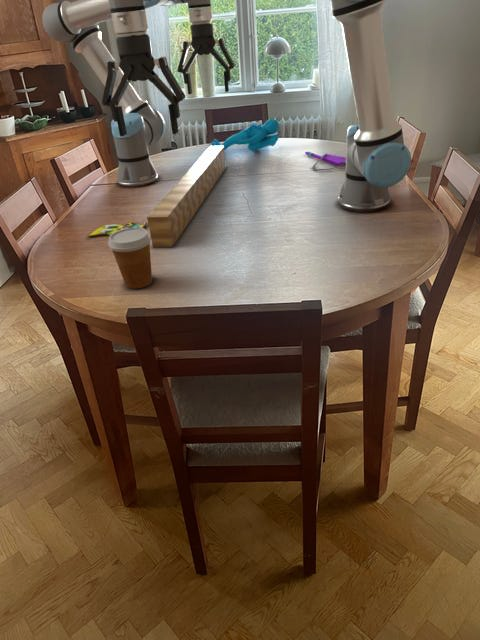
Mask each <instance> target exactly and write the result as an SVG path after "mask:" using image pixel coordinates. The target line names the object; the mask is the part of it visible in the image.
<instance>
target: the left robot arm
mask: <svg viewBox="0 0 480 640" xmlns="http://www.w3.org/2000/svg"><path fill="white" fill-rule="evenodd" d="M211 3H212V2H211V0H179V1H171V0H151V1H144V6H145V10H146V9H149V8H153V7H156V6H158V7H159V6H161V7H167V6H171V5H181V4H187V8H188V17H189V23H191V24H190V26H189V27H190V34H191V35H190V36H191V41H188V40H184V41H183V42H182V46H183V47H182V52H181V55H180V59H179V62H178V66H177V73H181V74H182V75H183V76H182V77H183V83H184V84H185V85H186V87H187V94H188V95H192V94H193V88H192V79H191V73H190V72H189V71H190V69H191V67H192V65H193V63H194V62H195V60H196V58H197V56H198V55H199V56H204V55H205V56H207V55H211V56H213V57H214V59H215V60H216V61H217V62H218V63H219V64H220V66H221V67H222V68H223V69H224V71H223V81H224V82H223V83H224V93H229V91H230V88H229V87H230V86H229V82H230V81H231V79H232V78H231V70H233V69H235V68H236V65H235V62H234V61H233V59H232V56H231V55H230V53H229V51H228V49H227V47H226V45H225V39H224V38H223V37H221V38H218V39H215V34H214V33H215V32H214V24H213V23H212V21H213V13H212V4H211ZM129 12H130V11H129ZM117 13H119V12H117ZM110 20H112V16H111V9H110V5H109V0H75V1H69V0H64V1H63V0H62V1H60V2H54V3H51V4H48V5H47V6H46V7H45V8H44V10H43V12H42V16H41V21H42V26H43V29H44V31H45V32H46V34H47V35H48V36H49V37H50V38H51V39H52V40H54V41H55V42H59V43H69V44H70V45H71V47H72V48H73V50H74V52H75V53H79V54H82V55H83V57H84V58H85V60H86V61H87V63H88V64H89V66H90V67H91V69H92V70H93V72H94V73H95V74H96V76H97V77H98V79H99V80H100V82H101V83H102V85H103V86H104V87H105V85H106V80H107V75H108V67H107V63H108V62H109V61H113V60H114V61H115V62H116V60H115V58H114V57H113V55H112V54H111V52H110V51H109V49H108V48H107V46H106V44H104V42H103V40H102V31H101V30H100V26H99V24H102V23H104V22H108V21H110ZM216 45H217V47H219V48H220V51H221V53H222V54H223V55H224V58H225V60H226V61H225V60H224V59H223V57H222V56H221V55H220V54H219V53H218V52H217V50H216V49H215V46H216ZM191 47H192V48H193V52H192V54H191V56H190V57H189V59H188V61H187V62H186V60H187V56H188V53H189V49H190V48H191ZM185 63H186V64H185ZM123 75H124V72H123V71H122V70H121V69H120V67H119V70H118V71H117V74H116V79H115V84H114V89H113V93H112V98H113V96H114V94H115V92H116V90H117V88H118V86H119V84H120V82H121V79H122V77H123ZM112 98H111V99H112ZM118 106H122V111H123V116H124V121H125V126H126V131H127V134H126V135H124V136H120V133H119V128H118V123H117V122H114V120H113V119H112V120H111V122H110V127H111V134H112V138H113V142H114V146H115V151H116V156H117V160H118V167H117V168H118V170H117V183H118V186H120V187H123V188H124V187H125V188H136V187H137V188H138V187H145V186H147V185H148V186H149V185H151V184H154V183H156V182H157V181H158V180H159V176H158V172H157V169H156V168H155V166H154V163H153V161H152V159H151V156H150V151H149V146H151V145H153V144H156V143H157V142H158V141H160V140H161V139H162V138H163V136H164V135H165V133H166V121H165V118H164V116H163V115H162V113H160V111H158V110H157V109H154V108H152V107H151V105H150V104H149V103H148V101H147V100H143V99H142V98H140V96H139V94H138V93H137V92H136V90H135V88H134V87H133V85H132V84H131V82H130V83H129V84H128V86H127V88H126V90H125V92H124V94H123V96H122V98H121V100H120V102H119V105H118Z"/></svg>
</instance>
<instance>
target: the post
mask: <svg viewBox="0 0 480 640" xmlns="http://www.w3.org/2000/svg"><path fill="white" fill-rule="evenodd" d="M226 169H227V165H226V152H225V150H224V146H212V145H210V146H209V147H208V148H207V149H206V150H205V151H204V152H203V153H202V154H201V156H200V157H198V159H197V160H196V161H195V162H194V164H193V165H192V166H191V167H190V168H189V169H188V170H187V172H186V173H185V174H184V175H183V176H182V177H181V178H180V180H179V181H178V182H177V183H176V184H175V185H174V186H173V187H172V188H171V190H170V191H169V192H168V193H167V194H166V195H165V197H163V199H161V201H160V202H159V203H158V204H157V206H156V207H154V209H153V210H152V211H151V212H150V213H149V214H148V216H147V217H146V218H147V225H148V230H149V235H150V236H151V239H150V241H151V245H152V248H172V247H174V245H175V244H176V242H177V241H178V239H179V238H180V236H181V235H182V234H183V232H184V230H185V229H186V227H187V226H188V225H189V223H190V222H191V221H192V218H193V217H194V216H195V215H196V213H197V211H198V210H199V208H200V207H201V205H202V204H203V202H204V201H205V200H206V199H207V196H208V195H209V194H210V192H211V190H212V189H213V188H214V186H215V185H216V183H217V182H218V180H219V179H220V178H221V176H222V175H223V173H224V171H226Z"/></svg>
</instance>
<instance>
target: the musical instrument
mask: <svg viewBox="0 0 480 640" xmlns="http://www.w3.org/2000/svg"><path fill="white" fill-rule="evenodd" d="M304 154H305V155H307V156H309V157H312V158H315V159H318V160H317V161H316V162H315V163H314V164H313V165H312V170H314V171H329V170H333V169H336V168H338V167H341V166H346V156H340V155H336V154H329V153H325V154H323V155H319V154H315V153H314V152H311V151H304ZM321 161H324V162H326V163H329V164H332V165H335V166H334V167H330V168H316V165H318V163H320V162H321Z"/></svg>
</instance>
